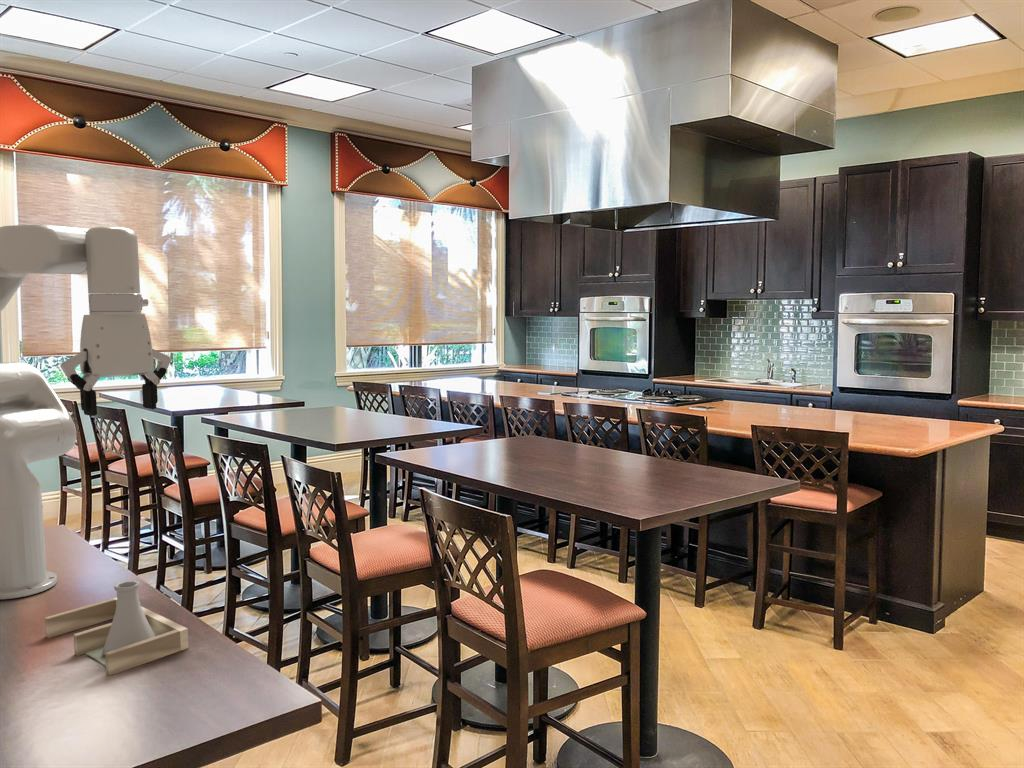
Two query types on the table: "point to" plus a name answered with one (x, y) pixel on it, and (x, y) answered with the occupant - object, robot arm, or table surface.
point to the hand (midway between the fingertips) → (120, 411)
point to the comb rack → (93, 640)
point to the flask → (127, 619)
